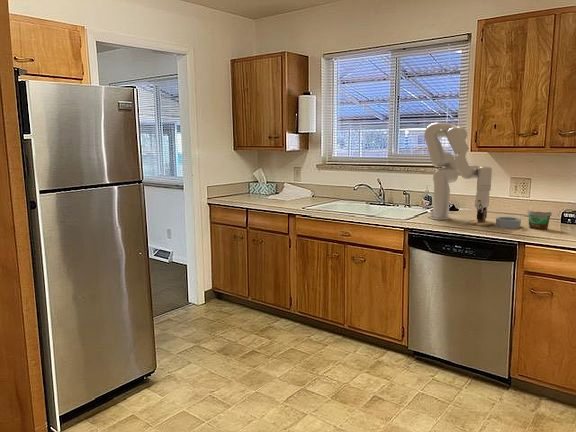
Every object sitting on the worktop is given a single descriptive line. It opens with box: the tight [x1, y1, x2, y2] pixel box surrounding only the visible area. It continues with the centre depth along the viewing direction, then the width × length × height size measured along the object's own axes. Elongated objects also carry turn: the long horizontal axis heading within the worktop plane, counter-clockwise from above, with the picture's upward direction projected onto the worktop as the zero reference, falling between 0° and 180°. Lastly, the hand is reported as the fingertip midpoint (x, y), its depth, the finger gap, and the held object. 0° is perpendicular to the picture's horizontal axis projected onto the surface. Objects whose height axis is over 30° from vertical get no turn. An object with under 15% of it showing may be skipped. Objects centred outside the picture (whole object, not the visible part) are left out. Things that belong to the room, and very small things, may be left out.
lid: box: [468, 210, 495, 227], centre depth 276 cm, size 14×14×8 cm
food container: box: [527, 209, 553, 231], centre depth 263 cm, size 12×6×10 cm, turn 56°
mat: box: [463, 221, 496, 228], centre depth 277 cm, size 15×15×1 cm
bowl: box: [495, 216, 522, 229], centre depth 269 cm, size 12×12×5 cm
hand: (481, 218), depth 276 cm, fingers open, 5 cm apart
